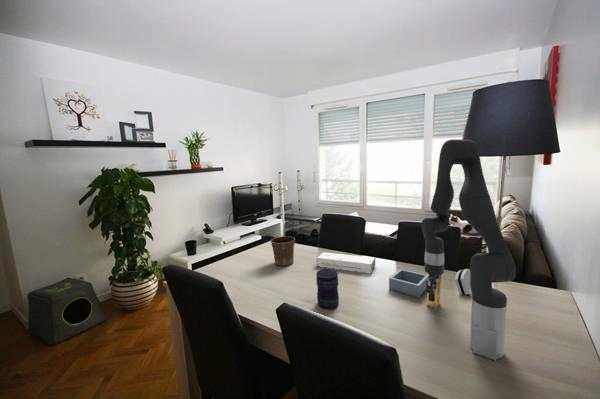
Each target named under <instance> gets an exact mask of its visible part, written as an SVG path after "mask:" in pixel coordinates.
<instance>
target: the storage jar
mask: <svg viewBox="0 0 600 399" xmlns="http://www.w3.org/2000/svg"><path fill="white" fill-rule="evenodd" d="M316 286H317V293H316V295H317V297H316V298H317V307H319V308H320V309H321V310H327V311H332V310H335V309H338V307H339V304H340V303H339V300H340V298H339V292H338V291H339V287H338V286H339V273H338V271H336V269H332V268H325V269H324V268H323V269H320V270H317V271H316Z"/></svg>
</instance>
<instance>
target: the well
mask: <svg viewBox="0 0 600 399" xmlns="http://www.w3.org/2000/svg"><path fill="white" fill-rule="evenodd" d="M428 276H429V274H424V273H422V272H415V271H413V270H408V269H404V268H400V269H399V270H397V271H396V272H395V273H393V274H392V275H391V276H390V277H389V278H388V290H390V291H393V292H397V293H400V294H402V295H408V296H411V297H413V298H417V299H419V298H421V297H422V296H423V294H424V293H425V292H427V290H426V280H427V281H428Z"/></svg>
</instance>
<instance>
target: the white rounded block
mask: <svg viewBox="0 0 600 399" xmlns="http://www.w3.org/2000/svg"><path fill="white" fill-rule="evenodd" d="M454 281H455V284H456V288H457V292H458V294H459V295H463V294H464V295H469V296H470V298H472V291H471V286H470V268H466V269H465V268H464V269H460V270H458V271H457V272H456V274H455V278H454Z"/></svg>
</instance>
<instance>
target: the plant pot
mask: <svg viewBox="0 0 600 399" xmlns="http://www.w3.org/2000/svg"><path fill="white" fill-rule="evenodd" d="M295 241H296V238H295V237H293V236H278V237H277V236H276V237H274V238H272V239H270V244H271V247H272V251H273V257H274V263H276V264H277V265H276V264H275V265H276V266H279V265H288V266H290V265H292V263H293V264H294V254H295V252H294V251H295Z"/></svg>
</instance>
